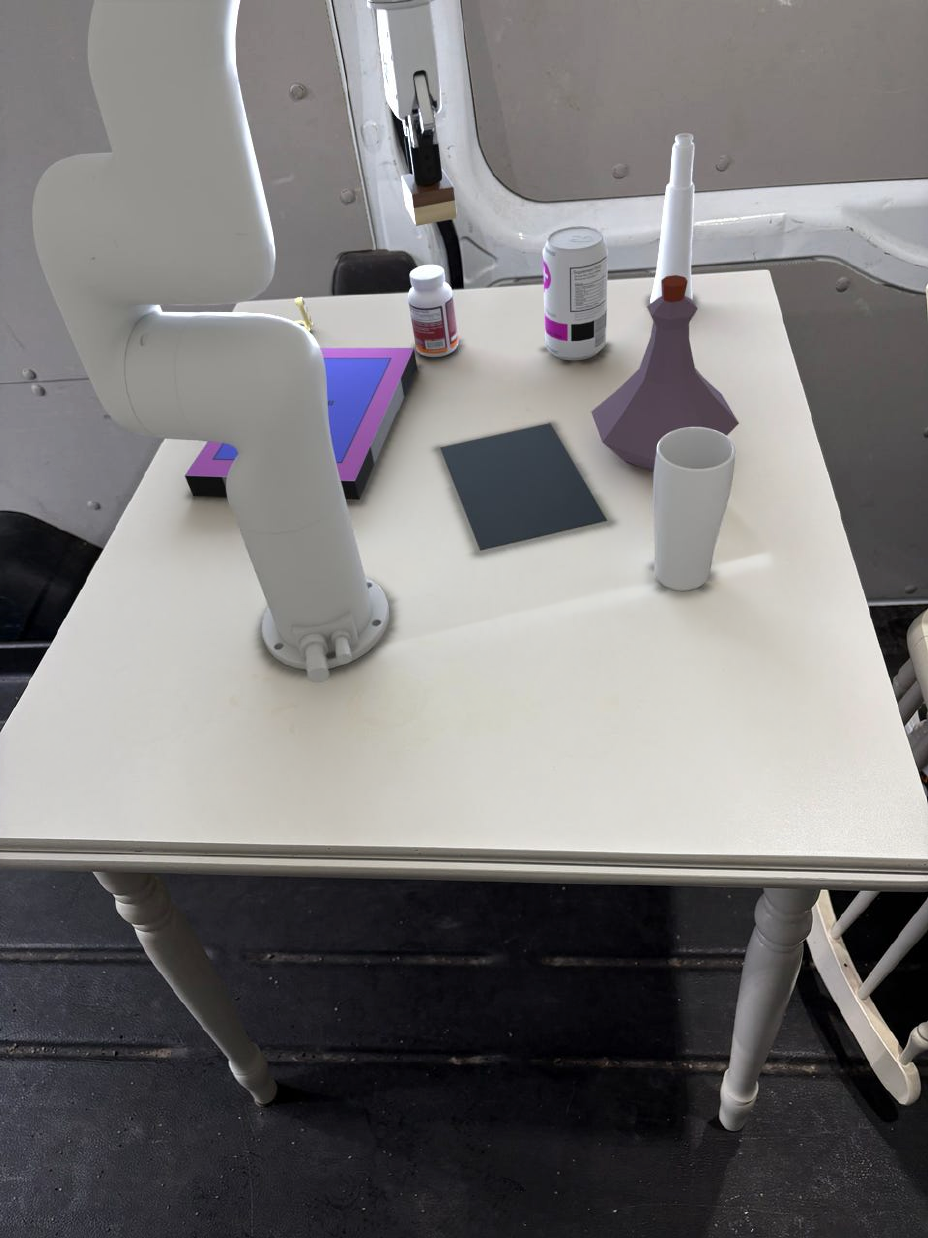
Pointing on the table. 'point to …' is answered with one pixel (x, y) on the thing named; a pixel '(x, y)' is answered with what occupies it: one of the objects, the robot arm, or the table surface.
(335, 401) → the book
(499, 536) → the mat
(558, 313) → the supplement can
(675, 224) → the cosmetic bottle
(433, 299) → the pill bottle
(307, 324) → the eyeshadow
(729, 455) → the drinking glass
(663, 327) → the flask
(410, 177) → the brush
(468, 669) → the table surface
